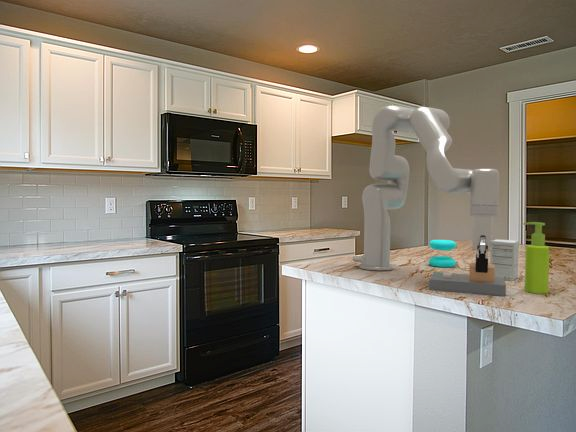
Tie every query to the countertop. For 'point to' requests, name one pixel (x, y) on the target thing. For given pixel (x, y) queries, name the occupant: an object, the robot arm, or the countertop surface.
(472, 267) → the plug
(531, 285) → the soap dispenser
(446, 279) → the socket
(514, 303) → the countertop surface
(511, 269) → the supplement box
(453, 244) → the donuts
